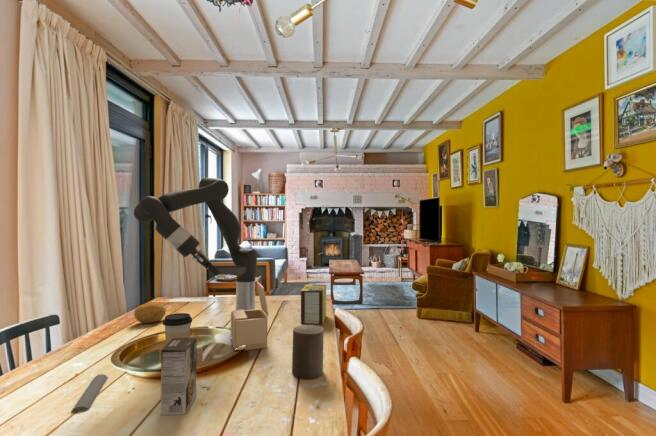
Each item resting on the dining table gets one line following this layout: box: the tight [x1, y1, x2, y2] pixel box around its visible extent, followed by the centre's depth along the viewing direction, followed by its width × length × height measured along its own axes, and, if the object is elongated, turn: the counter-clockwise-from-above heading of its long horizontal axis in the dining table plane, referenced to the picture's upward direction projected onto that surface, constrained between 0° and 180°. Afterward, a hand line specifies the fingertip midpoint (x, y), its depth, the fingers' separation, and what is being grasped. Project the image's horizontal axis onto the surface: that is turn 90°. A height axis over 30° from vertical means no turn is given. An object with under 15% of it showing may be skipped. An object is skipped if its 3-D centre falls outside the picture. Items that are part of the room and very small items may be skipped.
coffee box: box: [160, 337, 197, 416], centre depth 92 cm, size 9×6×16 cm
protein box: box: [300, 284, 327, 325], centre depth 172 cm, size 10×15×16 cm
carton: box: [230, 308, 268, 351], centre depth 138 cm, size 15×12×12 cm
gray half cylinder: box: [70, 373, 108, 413], centre depth 98 cm, size 4×20×2 cm, turn 19°
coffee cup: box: [161, 312, 193, 346], centre depth 121 cm, size 9×9×15 cm
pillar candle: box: [291, 324, 325, 380], centre depth 112 cm, size 10×10×15 cm
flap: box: [256, 281, 269, 317], centre depth 140 cm, size 14×1×11 cm, turn 20°
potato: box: [133, 301, 167, 324], centre depth 165 cm, size 10×13×9 cm
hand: (217, 273), depth 134 cm, fingers closed
